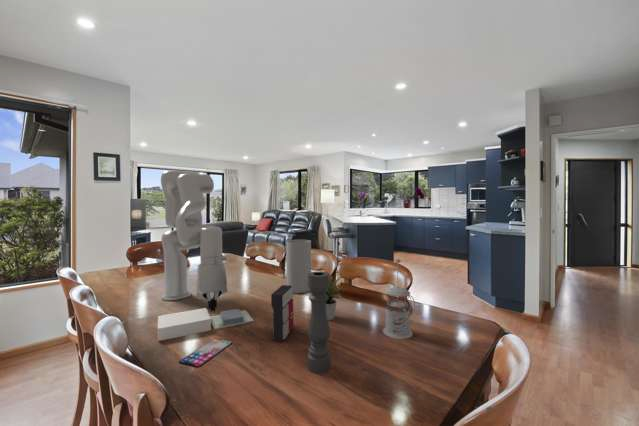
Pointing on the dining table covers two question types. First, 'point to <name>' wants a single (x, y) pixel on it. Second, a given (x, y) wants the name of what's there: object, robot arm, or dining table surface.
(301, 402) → the dining table surface
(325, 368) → the candle holder
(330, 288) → the house plant
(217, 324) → the mat
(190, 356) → the smartphone
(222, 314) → the tile
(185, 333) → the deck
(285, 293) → the dark grey box
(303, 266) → the cylinder vase
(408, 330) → the french press
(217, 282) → the robot arm
